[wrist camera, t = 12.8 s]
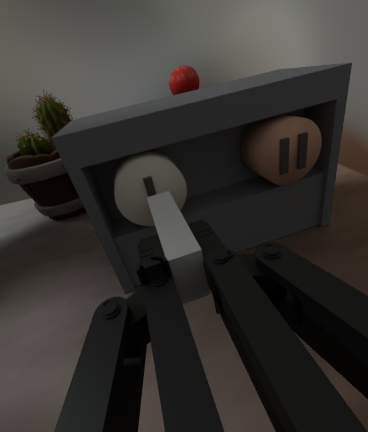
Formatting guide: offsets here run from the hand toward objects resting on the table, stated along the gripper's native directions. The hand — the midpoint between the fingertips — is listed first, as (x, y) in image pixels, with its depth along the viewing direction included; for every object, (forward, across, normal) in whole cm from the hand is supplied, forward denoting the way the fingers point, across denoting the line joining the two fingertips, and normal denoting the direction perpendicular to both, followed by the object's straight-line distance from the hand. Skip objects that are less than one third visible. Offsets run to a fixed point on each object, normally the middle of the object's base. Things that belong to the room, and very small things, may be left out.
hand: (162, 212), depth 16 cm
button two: (+6, +13, -4) cm, 15 cm away
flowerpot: (+32, -14, -11) cm, 37 cm away
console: (+10, +6, -10) cm, 16 cm away
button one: (+6, 0, -4) cm, 7 cm away
